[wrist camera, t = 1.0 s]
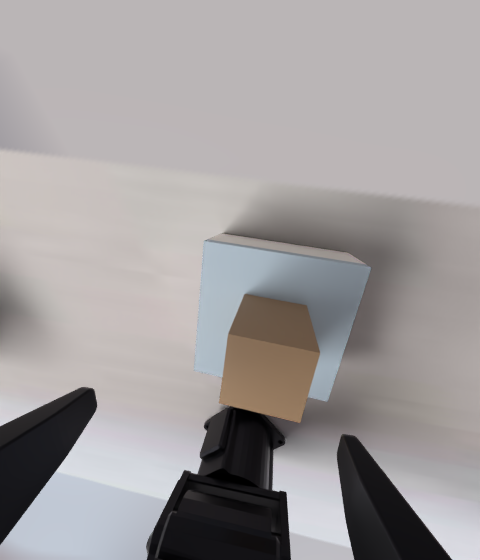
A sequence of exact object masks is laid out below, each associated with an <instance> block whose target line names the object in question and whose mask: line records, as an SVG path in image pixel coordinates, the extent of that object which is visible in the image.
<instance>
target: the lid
mask: <svg viewBox="0 0 480 560" xmlns="http://www.w3.org/2000/svg"><path fill="white" fill-rule="evenodd" d="M370 271H371V267H370V266H368V265H367V264H361V263H354V262H348V261H342V260H335V259H329V258H323V257H316V256H310V255H304V254H297V253H291V252H285V251H278V250H272V249H266V248H259V247H253V246H247V245H240V244H234V243H228V242H221V241H215V240H209V239H207V240H205V241H204V246H203V259H202V272H201V285H200V298H199V311H198V324H197V337H196V350H195V363H194V371H197V372H201V373H205V374H210V375H214V376H218V377H222V384H221V392H220V400H219V403H220V404H225V405H229V406H233V407H237V408H241V409H245V410H249V411H253V412H257V413H261V414H265V415H269V416H273V417H277V418H282V419H286V420H290V421H294V422H298V423H300V422H301V418H302V415H303V411H304V408H305V404H306V401H307V397H309V398H314V399H318V400H322V401H327V402H328V399H329V396H330V393H331V390H332V386H333V383H334V380H335V377H336V374H337V371H338V368H339V365H340V362H341V359H342V356H343V353H344V350H345V347H346V344H347V341H348V338H349V335H350V332H351V329H352V326H353V323H354V320H355V316H356V313H357V310H358V307H359V304H360V301H361V298H362V295H363V292H364V289H365V286H366V283H367V280H368V277H369V274H370Z"/></svg>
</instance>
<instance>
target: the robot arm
mask: <svg viewBox="0 0 480 560" xmlns="http://www.w3.org/2000/svg"><path fill="white" fill-rule="evenodd" d="M96 409H97V401H96V396H95V391H94V389H93V388H88V387H81V388H79V389H77V390H75V391H73V392H71V393H68V394H66V395H64V396H62V397H60V398H58V399H56V400H54V401H52V402H50V403H48V404H46V405H44V406H41V407H39V408H37V409H35V410H33V411H31V412H29V413H27V414H25V415H23V416H21V417H19V418H16V419H14V420H12V421H10V422H8V423H6V424H4V425H2V426H0V544H1V543H2V542H3V541H4V539H5V538H6V537H7V535H8V534H9V532H10V531H11V530H12V529H13V527H14V526H15V525H16V523H17V522H18V521H19V519H20V518H21V517H22V515H23V514H24V513H25V511H26V510H27V509H28V507H29V506H30V505H31V503H32V502H33V501H34V499H35V498H36V497H37V495H38V494H39V493H40V491H41V490H42V489H43V487H44V486H45V485H46V483H47V482H48V481H49V479H50V478H51V477H52V475H53V474H54V473H55V471H56V470H57V469H58V467H59V466H60V465H61V463H62V462H63V461H64V459H65V458H66V456H67V455H68V453H69V452H70V450H71V449H72V447H73V446H74V444H75V443H76V441H77V440H78V438H79V436H80V435H81V433H82V432H83V430H84V429H85V427H86V426H87V424H88V422H89V421H90V419H91V418H92V416H93V415H94V413H95V411H96ZM204 428H205V429H206V430H207V433H206V436H205V440H204V443H203V446H202V449H201V452H200V458H201V459H202V461H201V465H200V468H199V471H198V474H194V473H191V471H186V470H184V472H183V474H182V476H181V478H180V480H178V482H177V484H176V486H175V488H174V490H173V492H172V494H171V496H170V498H169V500H168V502H167V504H166V506H165V508H164V510H163V512H162V514H161V516H160V518H159V520H158V522H157V524H156V526H155V528H154V531H153V532H152V533H151V535H150V537H149V539H148V542H147V546H146V549H147V553H148V557H147V560H291V556H290V539H289V524H288V509H287V494H286V492H284V491H279V492H277V491H273V490H272V482H273V450H274V449H276V448H278V447H280V446H283V445H284V444H285V437H284V436H283V435H282V434H281V433H280V432H279V431H278V430H277V429H276V428H275V427H274V426H273V424H272V423H271V422H270V421H269V420H268V419H267V418H266V417H265V416H264V415H263V414H261V413H257V412H253V411H249V410H245V409H241V408H237V407H233V406H232V407H230V408H227V409H225V410H223V411H222V412H220V413H218V414H216V415H215V416H213V417H212V418H211V419H209V420H207V421H206V422H205V425H204ZM337 462H338V469H339V476H340V483H341V490H342V497H343V504H344V512H345V518H346V524H347V529H348V534H349V538H350V542H351V547H352V551H353V555H354V560H452V559H451V558H450V556H449V555H448V554H447V553H446V551H445V550H444V549H443V547H442V546H441V545H440V544H439V542H438V541H437V540H436V538H435V537H434V536H433V535H432V533H431V532H430V531H429V529H428V528H427V527H426V526H425V524H424V523H423V522H422V520H421V519H420V518H419V517H418V515H417V514H416V513H415V511H414V510H413V509H412V508H411V506H410V505H409V504H408V502H407V501H406V500H405V499H404V497H403V496H402V495H401V493H400V492H399V491H398V490H397V488H396V487H395V486H394V485H393V483H392V482H391V481H390V479H389V478H388V477H387V476H386V474H385V473H384V472H383V470H382V469H381V468H380V467H379V465H378V464H377V463H376V461H375V460H374V459H373V458H372V456H371V455H370V454H369V452H368V451H367V450H366V449H365V447H364V446H363V445H362V443H361V442H360V441H359V440H358V438H357V437H355V436H352V435H347V434H343V435H342V436H341V439H340V443H339V447H338V451H337Z"/></svg>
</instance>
